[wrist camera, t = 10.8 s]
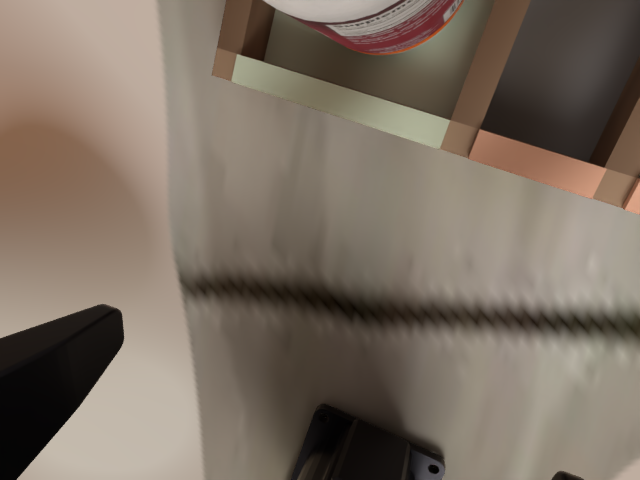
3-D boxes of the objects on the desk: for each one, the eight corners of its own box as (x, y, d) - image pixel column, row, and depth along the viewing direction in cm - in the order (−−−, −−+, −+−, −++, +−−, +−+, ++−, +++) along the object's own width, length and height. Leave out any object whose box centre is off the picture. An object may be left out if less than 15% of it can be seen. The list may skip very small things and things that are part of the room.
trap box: (1175, -93, 12) (1374, -152, 9) (882, 286, 15) (966, 320, 13) (310, -237, 16) (280, -302, 14) (241, 79, 20) (207, 74, 17)
